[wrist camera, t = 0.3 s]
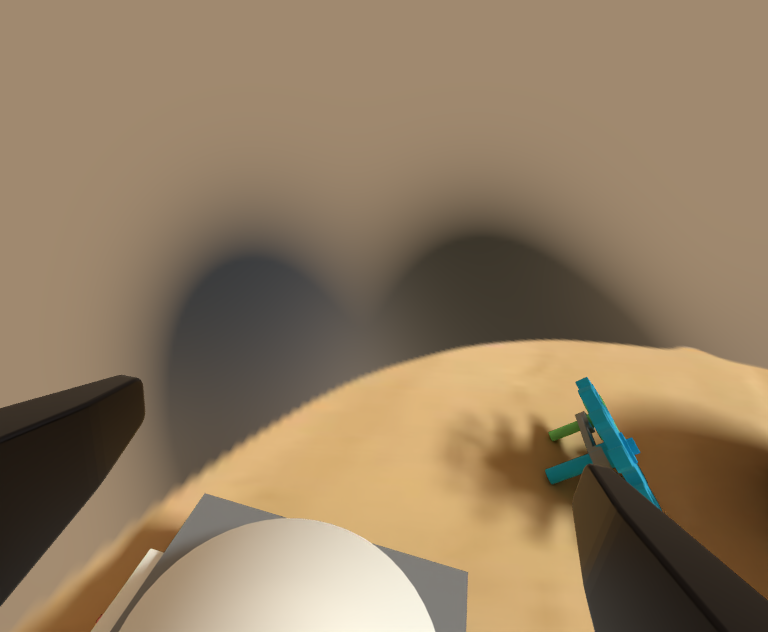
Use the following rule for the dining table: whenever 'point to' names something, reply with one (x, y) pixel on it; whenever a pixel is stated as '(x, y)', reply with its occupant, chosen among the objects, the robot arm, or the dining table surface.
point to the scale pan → (282, 585)
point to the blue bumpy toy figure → (609, 452)
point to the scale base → (216, 516)
